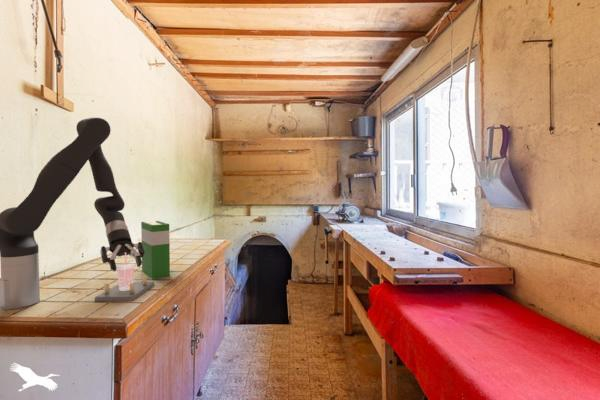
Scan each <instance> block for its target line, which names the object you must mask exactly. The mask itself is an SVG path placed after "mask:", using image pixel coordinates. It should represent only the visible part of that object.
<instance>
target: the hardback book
mask: <svg viewBox="0 0 600 400" xmlns="http://www.w3.org/2000/svg"><path fill="white" fill-rule="evenodd" d="M140 223H141V243H142V246H143V249H144V252H145V253H144V256H143V257H141V261H142V264H141V271H142V272H143V273H144V274H145V276H148V277H149V278H150V279H151V280H157V279H162V278H166V277H170V276H171V269H170V267H171V266H170V264H171V263H170V261H171V259H170V247H171V246H170V244H171V243H170V223H167V222H163V221H160V220H156V221H155V222H145V221H141V222H140Z"/></svg>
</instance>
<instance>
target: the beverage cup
mask: <svg viewBox="0 0 600 400" xmlns="http://www.w3.org/2000/svg"><path fill="white" fill-rule="evenodd" d="M116 267H117V269H116V271H117V280H118V284H119V290H120V291H126V290H130V284H131V283H133V282H135V281H134V276H135V268H136V264H135V263H127V255H126V252H125V255H124V263H123V264H119V265H116Z"/></svg>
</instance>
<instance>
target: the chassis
mask: <svg viewBox="0 0 600 400" xmlns="http://www.w3.org/2000/svg"><path fill="white" fill-rule="evenodd" d="M147 276H148V275H143V276H142V281H133V283H131V284H130V290H126V291H120V290H119V283H118V284H116V285H115V286H112V287H111V288H110V282H109V283H108V282H107V283H104V292H102V293H100V294H98V295H96V296H94V302H132V301H134V300H136V299H137V298H139V297H140V296H142V295H143V294H144V293H146V292H147V291H149V290H150V289H151V288H153V287H154V286H155V281H148V279H147V278H148V277H147ZM148 289H149V290H148Z"/></svg>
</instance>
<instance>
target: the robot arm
mask: <svg viewBox="0 0 600 400" xmlns="http://www.w3.org/2000/svg"><path fill="white" fill-rule="evenodd" d="M111 129H112V128H111V125H110V123H109V122H108V121H107V120H106V119H104V118H102V117H93V116H92V117H88V118H84V119H81V120H79V121H78V122H77V123H76V132H77V137H76V138H75V139H74V140H73V141H72V142H71V143H69V144H68V145H66V146H65V147H64V148H62V149H61V150H60V151H58V152H57V153H56V154H55V155H53V156H52V157H51V158H50V159H49V160H48V162H46V164H45V165H44V167H42V169H41V170H40V172H39V173H38V175H37V178H36V181H35V182H34V185H33V188H32V190H31V191H30V193H28V195H27V196H26V197H25V198H24V200H23V201H21V202H20V204H18V205H17V207H16V206H15V207H10V208H6V209H4V210H2V211H1V212H0V308H1V309H2V310H4V311H8V310H12V309H13V310H14V309H15V310H16V309H20V308H25V307H30V306H32V305H35V304H37V303H38V302H39V301H41V299H40V297H41V293H40V263H39V262H40V259H39V257H40V256H39V251H40V250H39V244H38V243H37V241H36V239H35V232H36V231H37V230H38V229H39V228H40V226H41V225H42V224H43V222H44V221H45V219H46V217H47V216H48V213H49V212H50V211H51V208H52V207H53V205H54V204H55V203H56V201H57V200H58V199H59V198H60V196H61V195H62V194H63V193H64V192H65V191H66V189H67V188H68V187H69V185H70V184H72V182H73V181H74V180H75V179H76V177H77V176H78V174H79V173H80V171H81V170H82V168H83V167H84V166H85V164H86V163H88V162H89V165H90V169H91V170H90V171H91V173H92V179H93V182H94V185H95V189H96V191H98V192H101V193H102V192H104V193H105V192H106V193H110V194H111V195H110V196H109V195H108V196H104V197H103V196H101V197H99V198H97V199H95V200H94V203H93V205H94V206H93V207H94V209H95V210H96V212H97V213H98V215H100V217H101V218H102V220H103V223H104V227H105V235H106V238H107V241H108V247H106V246H104V245H103V246H101V247H100V250H99V251H100V255H101V261H102V263H103V264H107V263H108V264H109V267H110V270H111V271H113V272H116V271H117V267H116V266H117V263H116V259H117V257H123V256H125V252H126V256H129V257H131V258H134V259H135V262H136V264H135V265H136V267H137V268H140V267H141V266H142V257H143V256H144V253H145V252H144V249H143V246H142V241H138V243H133V241H132V238H131V234H130V231H129V228H128V226H127V224H126V221H125V217H124V215H123V213H122V212H121V211H122V210H124V208H125V201H124V199H123V198H122V196H121V194H120V192H119V189H117V186H116V181H115V177H114V172H113V169H112V167H111V165H110V164H109V162H108V160H107V158H106V157H105V154H104V152H103V150H102V144H103V143H104V142H105V141H106V140H107V139H108V138H109V136H110V135H111V131H112V130H111ZM108 251H109V252H110V253H112V254H111V256H110V257H108Z"/></svg>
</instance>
